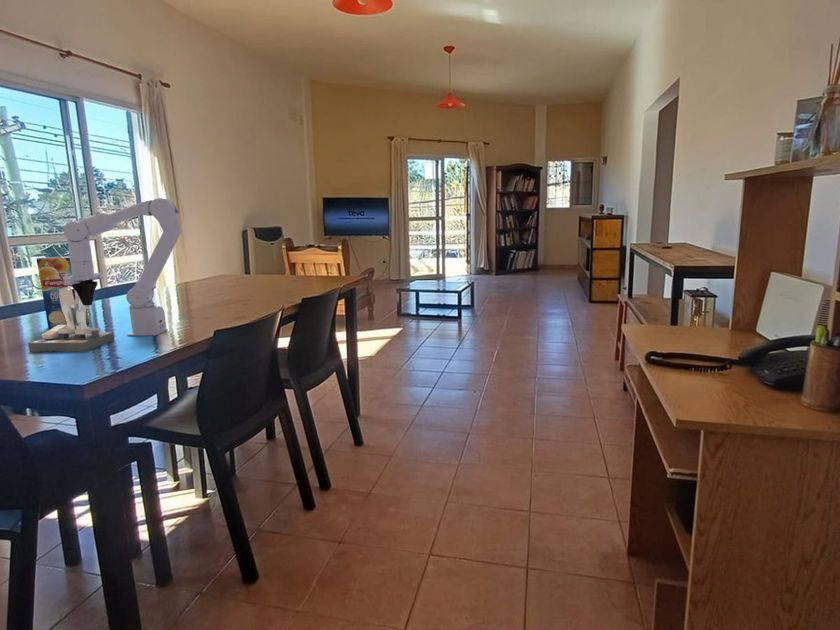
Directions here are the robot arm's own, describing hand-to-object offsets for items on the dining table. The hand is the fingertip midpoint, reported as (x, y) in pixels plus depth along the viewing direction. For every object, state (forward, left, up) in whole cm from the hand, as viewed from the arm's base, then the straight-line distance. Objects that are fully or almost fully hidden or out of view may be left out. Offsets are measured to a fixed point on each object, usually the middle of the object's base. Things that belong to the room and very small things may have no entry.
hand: (87, 305), depth 160 cm
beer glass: (+10, -7, -11) cm, 16 cm away
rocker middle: (-1, +10, -6) cm, 12 cm away
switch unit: (-1, +10, -10) cm, 14 cm away
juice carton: (+20, -17, -11) cm, 29 cm away
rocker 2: (-6, +10, -6) cm, 13 cm away
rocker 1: (+4, +10, -6) cm, 12 cm away
